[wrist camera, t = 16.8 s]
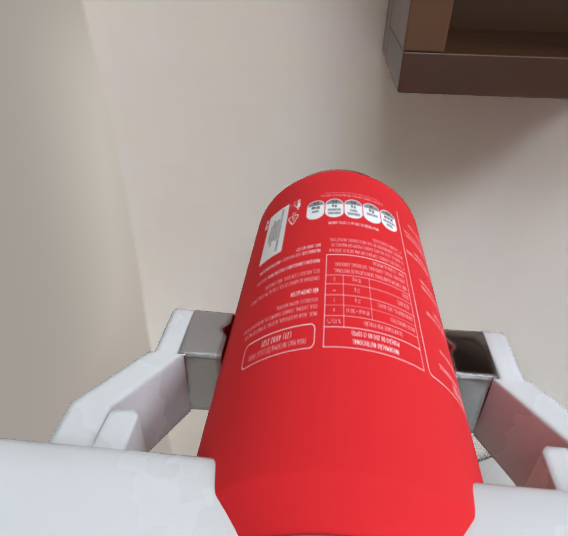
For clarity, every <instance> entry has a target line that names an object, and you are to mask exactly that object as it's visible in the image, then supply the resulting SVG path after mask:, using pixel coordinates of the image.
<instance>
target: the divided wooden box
mask: <svg viewBox="0 0 568 536" xmlns="http://www.w3.org/2000/svg"><path fill="white" fill-rule="evenodd" d="M383 54H384V56H385V59H386V62H387V65H388V68H389V70H390V73H391V76H392V78H393V81H394V84H395V86H396V89H397V91H398V92H400V93H425V94H450V95H475V96H500V97H526V98H551V99H568V0H389V2H388V10H387V18H386V26H385V34H384V42H383Z"/></svg>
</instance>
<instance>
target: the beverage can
mask: <svg viewBox="0 0 568 536" xmlns="http://www.w3.org/2000/svg"><path fill="white" fill-rule="evenodd" d="M197 456H198V457H208V458H213V459H214V460H215V464H216V467H215V494H216V496H217V498H218V500H219V502H220V503H221V505H222V507H223V509H224V510H225V512H226V514H227V516H228V517H229V519H230V521H231V523H232V525H233V526H234V528H235V530H236V532H237V535H238V536H464V535H465V533H466V532H467V530H468V529H469V527H470V525H471V524H472V522H473V521H474V519H475V503H474V494H473V485H474V483H475V482H476V483H484V482H483V478H482V475H481V471H480V467H479V463H478V459H477V455H476V452H475V448H474V444H473V440H472V436H471V432H470V429H469V425H468V421H467V417H466V413H465V409H464V406H463V402H462V398H461V394H460V390H459V386H458V383H457V379H456V375H455V371H454V367H453V363H452V360H451V356H450V352H449V348H448V344H447V341H446V337H445V333H444V329H443V325H442V321H441V318H440V314H439V310H438V306H437V302H436V298H435V295H434V291H433V287H432V283H431V279H430V275H429V272H428V268H427V264H426V260H425V256H424V252H423V249H422V245H421V241H420V237H419V233H418V229H417V226H416V223H415V219H414V217H413V215H412V213H411V211H410V209H409V207H408V206H407V204H406V203H405V202H404V201H403V199H402V198H401V197H400V196H399V195H398V194H397V193H396V192H395V191H393V190H392V189H391V188H389V187H388V186H386V185H385V184H383V183H382V182H380V181H378V180H376V179H373V178H371V177H369V176H367V175H365V174H362V173H359V172H355V171H350V170H341V169H335V170H326V171H321V172H317V173H314V174H311V175H309V176H307V177H305V178H303V179H301V180H298V181H297V182H295V183H293V184H291V185H290V186H288V187H287V188H285V189H284V190H283V191H282V192H280V193H279V194H278V195H277V196H276V197H275V198H274V199H273V201H272V202H271V203H270V204H269V206H268V207H267V209H266V211H265V212H264V214H263V217H262V219H261V222H260V225H259V229H258V232H257V236H256V240H255V243H254V247H253V251H252V254H251V258H250V262H249V265H248V269H247V273H246V276H245V280H244V284H243V288H242V291H241V295H240V299H239V302H238V306H237V310H236V313H235V317H234V321H233V324H232V328H231V332H230V335H229V339H228V343H227V347H226V350H225V354H224V358H223V361H222V365H221V369H220V372H219V376H218V380H217V383H216V387H215V391H214V395H213V398H212V402H211V406H210V409H209V413H208V417H207V420H206V424H205V428H204V431H203V435H202V439H201V442H200V446H199V450H198V454H197Z"/></svg>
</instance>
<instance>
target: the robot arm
mask: <svg viewBox="0 0 568 536" xmlns="http://www.w3.org/2000/svg"><path fill="white" fill-rule="evenodd" d="M234 317H235V315H234V314H232V313H221V312H211V311H200V310H196V311H195V310H187V309H175V310H174V311H173V312H172V314H171V317H170V319H169V321H168V323H167V326H166V328H165V330H164V332H163V335H162V337H161V339H160V341H159V344H158V346H157V348H156V351H155V352H148V353H146V354H145V355H143V356H142V357H140V358H139V359H137V360H135V361H134V362H132V363H131V364H129V365H128V366H126V367H125V368H123V369H122V370H120V371H119V372H117V373H116V374H114V375H113V376H111V377H110V378H108V379H106V380H105V381H103V382H102V383H100V384H99V385H97V386H96V387H94V388H93V389H91V390H90V391H88V392H87V393H85V394H84V395H82V396H81V397H79V398H78V399H76V400H74V401H73V402H71V403H70V405H69V406H68V408H67V410H66V412H65V413H64V415H63V417H62V419H61V420H60V422H59V424H58V426H57V427H56V429H55V431H54V433H53V434H52V436H51V438H50V440H49V441H48V443H47V442H36V441H25V440H15V439H4V438H0V536H238V535H237V532H236V530H235V528H234V526H233V525H232V523H231V521H230V519H229V517H228V516H227V514H226V512H225V510H224V509H223V507H222V505H221V503H220V502H219V500H218V498H217V496H216V494H215V467H216V464H215V460H214V459H213V458H208V457H198V456H187V455H176V454H165V453H155V452H149V451H150V450H151V449H152V448H153V447H154V446H155V445H156V444H157V443H158V442H159V441H160V440H161V439H162V438H163V437H164V436H165V435H166V434H167V433H168V432H169V431H170V430H172V429H173V428H174V427H175V426H176V425H177V424H178V423H179V422H180V421H181V420H182V419H183V418H184V417H185V416H186V415H187V414H188V413H189V412H190V411H191V410H190V409H203V410H209V409H210V406H211V402H212V398H213V395H214V391H215V387H216V383H217V380H218V376H219V372H220V369H221V365H222V361H223V358H224V354H225V350H226V347H227V343H228V339H229V335H230V332H231V328H232V324H233V321H234ZM444 333H445V337H446V341H447V344H448V348H449V352H450V356H451V360H452V363H453V367H454V371H455V375H456V379H457V383H458V386H459V390H460V394H461V398H462V402H463V406H464V409H465V413H466V417H467V421H468V425H469V429H470V432H471V433H474V436H475V437H476V438H477V440H478V441H479V442H480V443H481V444H482V445H483V447H484V448H485V449H486V450H487V451H488V453H489V454H490V455H491V456H492V457H491V458H488V459H485V460H482V461H479V462H478V463H479V467H480V471H481V475H482V478H483V482H484V483H476V482H475V483H474V485H473V494H474V503H475V519H474V521H473V522H472V524H471V525H470V527H469V529H468V530H467V532H466V533H465V535H464V536H568V410H566V409H565V408H564V407H562V406H561V405H560V404H559V403H557V402H556V401H555V400H554V399H552V398H551V397H550V396H548V395H547V394H546V393H545V392H543V391H542V390H541V389H539V388H538V387H537V386H536V385H534V384H533V383H532V382H530V381H524V379H523V377H522V374H521V372H520V369H519V367H518V365H517V362H516V360H515V357H514V355H513V353H512V350H511V348H510V345H509V343H508V341H507V338H506V336H505V334H504V333H502V332H489V331H480V332H479V331H465V330H450V329H444Z"/></svg>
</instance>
